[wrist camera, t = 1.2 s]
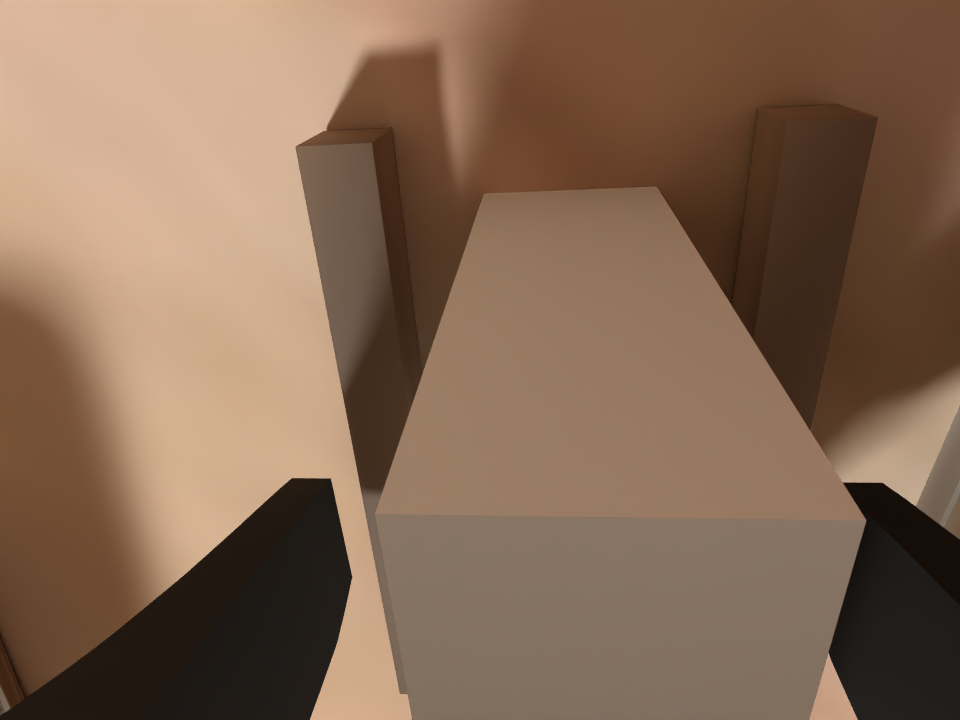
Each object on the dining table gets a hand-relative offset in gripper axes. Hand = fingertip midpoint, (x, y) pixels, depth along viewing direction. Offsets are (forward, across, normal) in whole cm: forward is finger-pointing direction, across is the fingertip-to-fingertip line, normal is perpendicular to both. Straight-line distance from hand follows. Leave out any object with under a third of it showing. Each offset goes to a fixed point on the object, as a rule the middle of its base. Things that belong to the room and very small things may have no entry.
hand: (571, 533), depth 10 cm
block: (+2, 0, 0) cm, 2 cm away
